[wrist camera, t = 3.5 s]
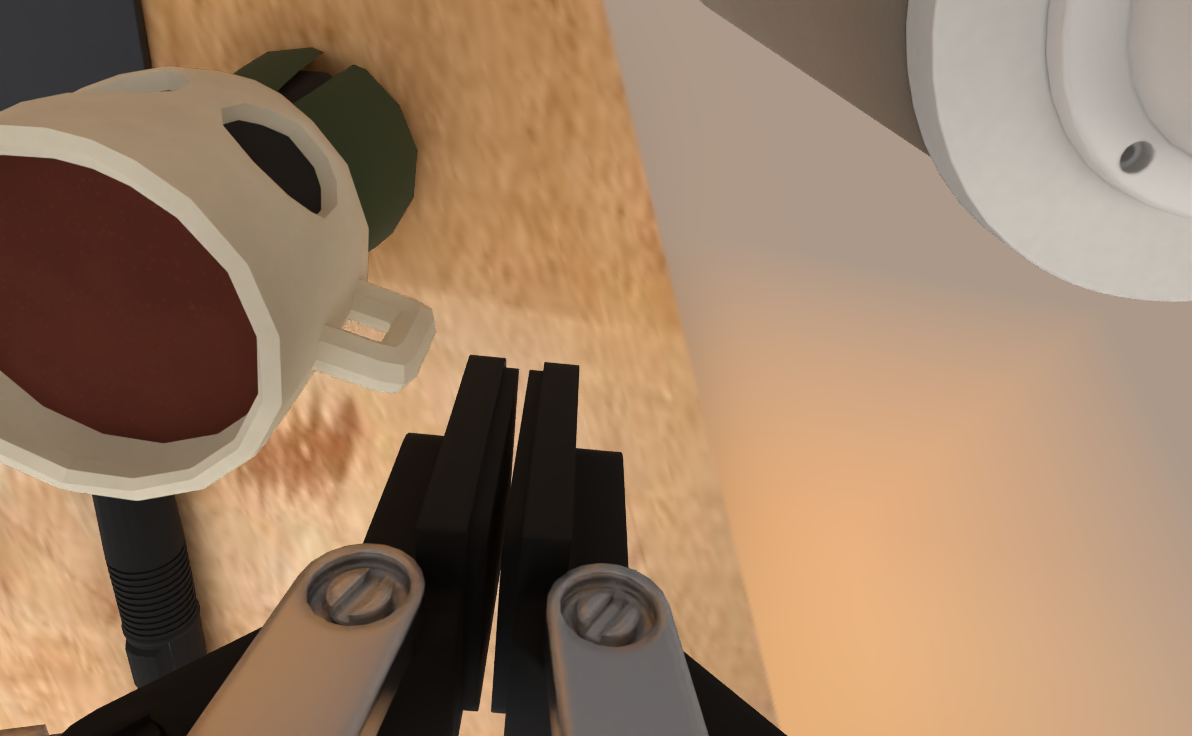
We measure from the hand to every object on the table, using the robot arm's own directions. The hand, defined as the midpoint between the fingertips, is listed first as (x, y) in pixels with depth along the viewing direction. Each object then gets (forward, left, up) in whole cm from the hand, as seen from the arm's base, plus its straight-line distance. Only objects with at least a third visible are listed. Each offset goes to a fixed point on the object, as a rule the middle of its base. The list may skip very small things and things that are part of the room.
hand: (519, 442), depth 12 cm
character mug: (+8, 0, -15) cm, 17 cm away
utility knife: (+16, +23, -15) cm, 31 cm away
